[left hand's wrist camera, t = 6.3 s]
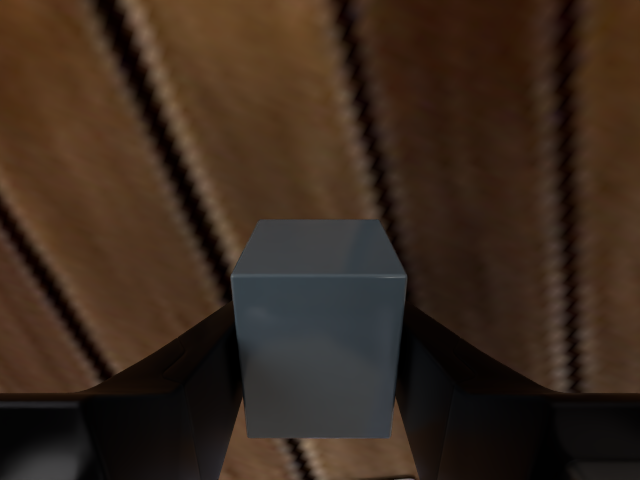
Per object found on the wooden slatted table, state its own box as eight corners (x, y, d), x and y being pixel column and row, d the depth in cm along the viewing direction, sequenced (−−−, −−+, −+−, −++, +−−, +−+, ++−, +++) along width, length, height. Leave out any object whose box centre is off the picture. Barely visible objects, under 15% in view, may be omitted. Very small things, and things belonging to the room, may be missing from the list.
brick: (380, 218, 12) (409, 274, 8) (371, 346, 13) (391, 439, 10) (257, 218, 12) (229, 274, 8) (266, 346, 13) (246, 439, 10)
